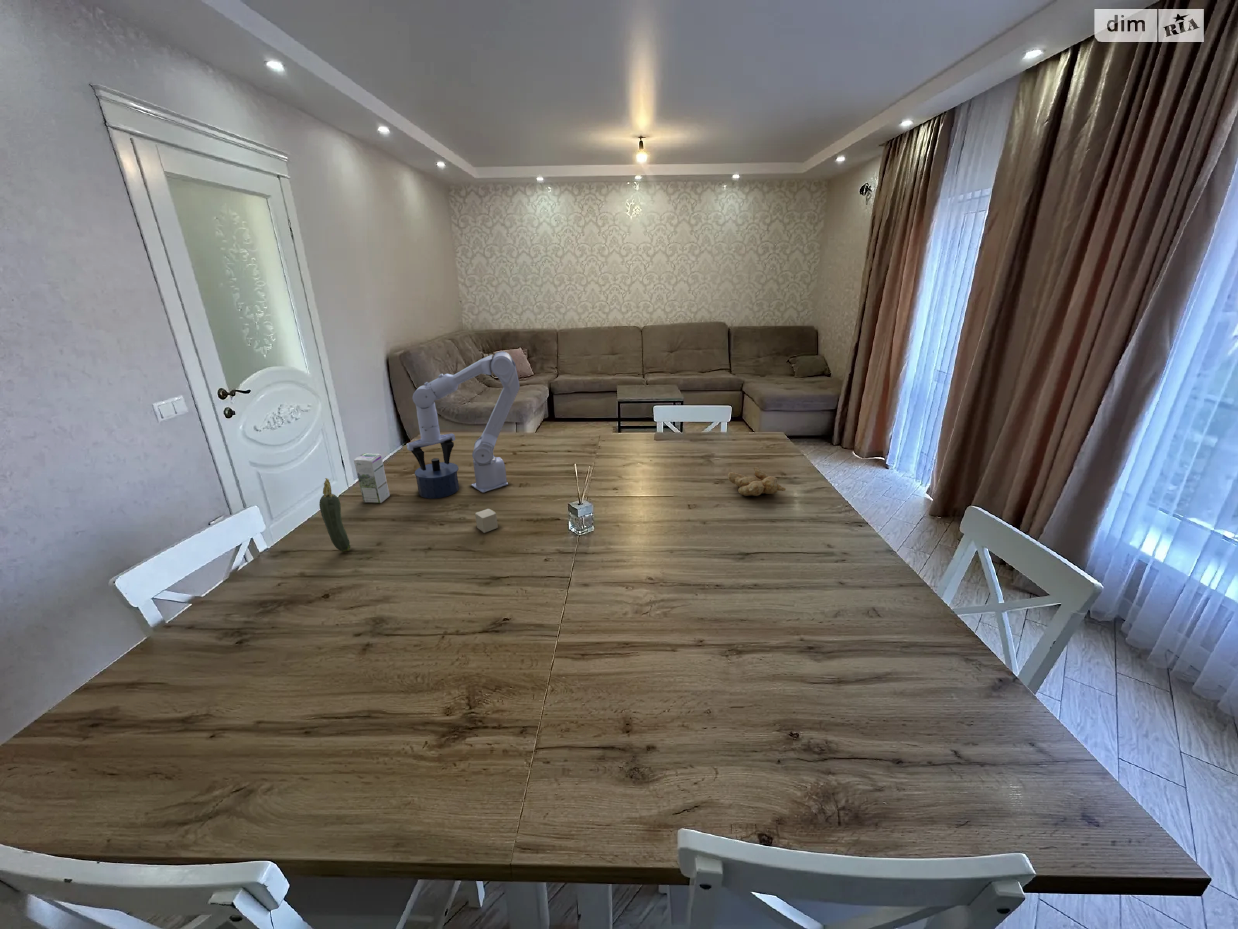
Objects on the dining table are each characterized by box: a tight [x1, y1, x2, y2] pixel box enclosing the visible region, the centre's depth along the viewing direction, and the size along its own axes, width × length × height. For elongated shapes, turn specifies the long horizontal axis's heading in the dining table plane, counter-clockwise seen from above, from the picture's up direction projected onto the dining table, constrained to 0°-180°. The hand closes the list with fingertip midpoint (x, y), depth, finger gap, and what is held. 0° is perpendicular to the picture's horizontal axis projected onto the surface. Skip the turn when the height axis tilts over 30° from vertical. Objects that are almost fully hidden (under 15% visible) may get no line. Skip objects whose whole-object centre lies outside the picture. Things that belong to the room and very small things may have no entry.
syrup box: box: [353, 453, 391, 504], centre depth 148 cm, size 6×6×14 cm
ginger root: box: [726, 466, 787, 497], centre depth 152 cm, size 16×16×8 cm
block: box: [474, 508, 499, 534], centre depth 132 cm, size 4×4×4 cm
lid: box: [414, 457, 459, 479], centre depth 154 cm, size 13×13×5 cm
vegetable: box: [319, 477, 351, 553], centre depth 118 cm, size 4×4×20 cm
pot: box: [415, 471, 460, 499], centre depth 155 cm, size 12×12×6 cm
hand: (435, 466), depth 153 cm, fingers open, 7 cm apart
